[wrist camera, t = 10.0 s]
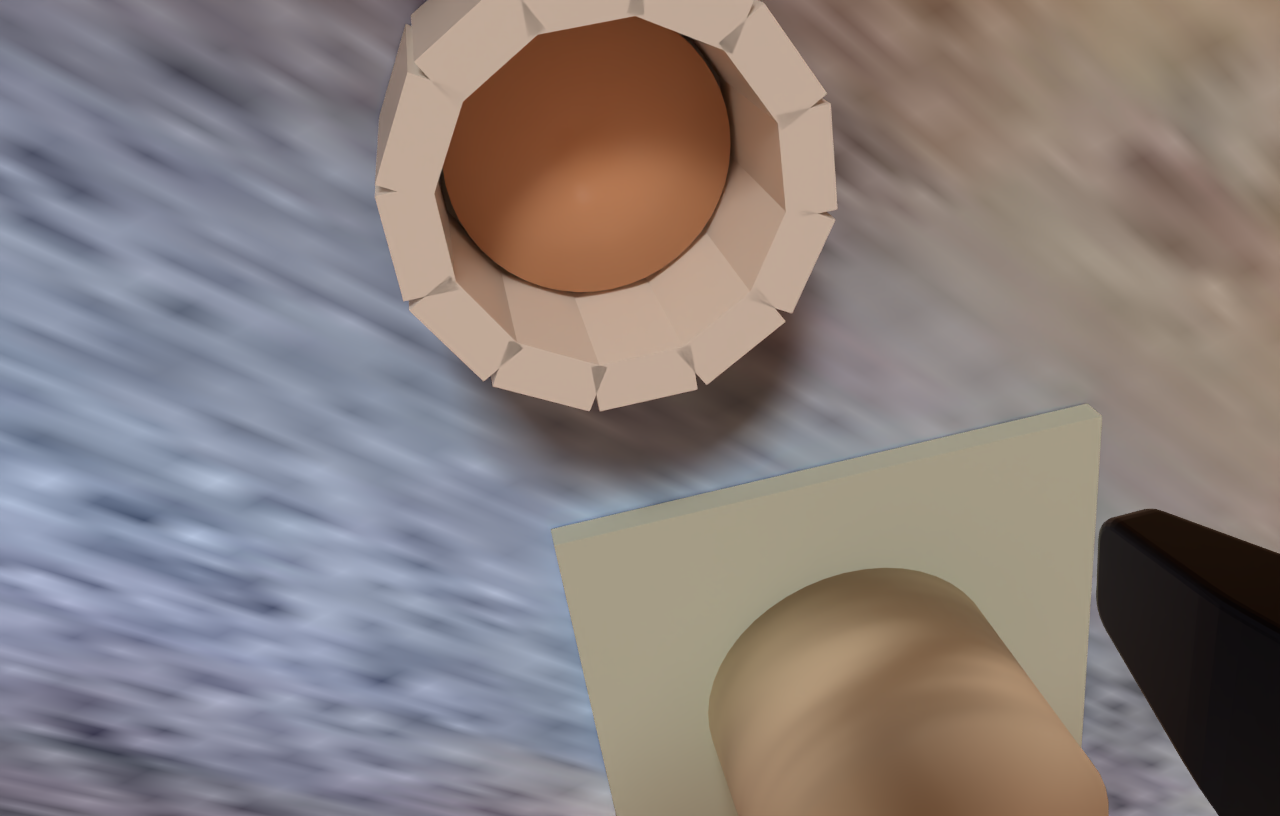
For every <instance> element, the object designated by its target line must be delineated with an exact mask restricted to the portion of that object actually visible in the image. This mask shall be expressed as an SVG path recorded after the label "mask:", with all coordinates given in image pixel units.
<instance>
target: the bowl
mask: <svg viewBox="0 0 1280 816" xmlns="http://www.w3.org/2000/svg"><path fill="white" fill-rule="evenodd" d="M411 25H412V26H410V25H407V24H406V25H405V28H404V32H403V35H402V39H401V42H400V46H399V49H398V53H397V56H396V60H395V63H394V67H393V70H392V74H391V77H390V81H389V84H388V88H387V91H386V95H385V98H384V102H383V105H382V109H381V113H380V116H379V128H378V143H377V159H376V175H375V199H376V203H377V206H378V210H379V213H380V217H381V221H382V224H383V228H384V232H385V235H386V239H387V242H388V246H389V250H390V253H391V257H392V261H393V264H394V268H395V272H396V275H397V279H398V282H399V286H400V290H401V293H402V297H403V301H408V300H409V311H410V312H411V313H412V314H413V315H415V316H416V317H417V318H418V319H419V320H420V321H421V322H422V323H423V324H424V325H425V326H426V327H427V328H428V329H429V330H430V331H431V332H432V333H433V334H434V335H436V336H437V337H438V338H439V339H440V340H441V341H442V342H443V343H444V344H445V345H446V346H447V347H448V348H449V349H450V350H451V351H452V352H453V353H454V354H455V355H456V356H458V357H459V358H460V359H461V360H462V361H463V362H464V363H465V364H466V365H467V366H468V367H469V368H470V369H471V370H472V371H473V372H474V373H475V374H476V375H477V376H478V377H480V378H481V379H482V380H483V381H485V380H486V379H487V378H488V377H490V376H491V380H492V386H493V387H497V388H501V389H505V390H509V391H513V392H516V393H520V394H524V395H528V396H532V397H536V398H540V399H544V400H547V401H551V402H555V403H559V404H563V405H567V406H571V407H575V408H578V409H582V410H586V411H590V409H591V407H592V404H593V402H594V399H596V402H597V405H598V408H599V411H604V410H609V409H613V408H618V407H622V406H627V405H631V404H635V403H640V402H644V401H649V400H653V399H658V398H662V397H667V396H671V395H675V394H680V393H684V392H689V391H693V390H697V383H696V375H695V373H696V374H697V375H698V376H699V377H700V378H701V379H702V380H703V382H704V383H705V384H706V385H707V384H709V383H710V382H711V381H712V380H714V379H715V378H716V377H717V376H719V375H720V374H721V373H722V372H724V371H725V370H726V369H727V368H729V367H730V366H731V365H732V364H734V363H735V362H736V361H737V360H739V359H740V358H741V357H742V356H744V355H745V354H746V353H747V352H748V351H750V350H751V349H752V348H753V347H755V346H756V345H757V344H758V343H760V342H761V341H762V340H763V339H765V338H766V337H767V336H768V335H770V334H771V333H772V332H773V331H775V330H776V329H777V328H778V327H780V326H781V325H782V324H783V323H785V322H786V321H785V320H784V319H783V317H782V316H781V315H780V313H779V312H778V311H777V310H776V309H779V310H783V311H786V312H789V313H793V311H794V308H795V306H796V304H797V302H798V300H799V298H800V295H801V293H802V291H803V289H804V287H805V285H806V282H807V280H808V278H809V276H810V274H811V272H812V269H813V267H814V265H815V263H816V261H817V259H818V256H819V254H820V252H821V250H822V248H823V246H824V243H825V241H826V239H827V237H828V235H829V233H830V230H831V228H832V226H833V224H834V222H835V219H834V218H833V217H832V216H831V215H830V214H829V213H827V211H832V210H837V195H836V179H835V164H834V148H833V133H832V117H831V104H830V103H828V102H827V101H825V100H824V99H822V97H824V96H825V95H826V94H827V93H826V91H825V90H824V88H823V87H822V86H821V84H820V83H819V81H818V80H817V78H816V77H815V75H814V74H813V73H812V71H811V70H810V68H809V67H808V65H807V64H806V63H805V61H804V60H803V58H802V57H801V55H800V54H799V52H798V51H797V50H796V48H795V47H794V45H793V44H792V42H791V41H790V40H789V38H788V37H787V35H786V34H785V32H784V31H783V29H782V28H781V27H780V25H779V24H778V22H777V21H776V19H775V18H774V17H773V15H772V14H771V12H770V11H769V9H768V8H767V6H766V5H765V4H764V3H762V2H760V1H758V0H427V1H426V2H425V3H424V4H423V5H422V6H421V7H419V8H418V9H417V10H416V11H415V12H414V13H413V14H412V15H411Z"/></svg>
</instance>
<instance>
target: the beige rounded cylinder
mask: <svg viewBox="0 0 1280 816" xmlns="http://www.w3.org/2000/svg"><path fill="white" fill-rule="evenodd" d="M708 717H709V728H710V732H711V736H712V740H713V743H714V746H715V749H716V752H717V755H718V758H719V761H720V764H721V766H722V769H723V772H724V775H725V778H726V781H727V784H728V787H729V790H730V793H731V796H732V799H733V802H734V805H735V808H736V810H737V813H738V816H1108V798H1107V793H1106V788H1105V785H1104V783H1103V781H1102V778H1101V776H1100V774H1099V772H1098V771H1097V769H1096V768H1095V766H1094V765H1093V764H1092V762H1091V761H1090V759H1089V758H1088V757H1087V755H1086V754H1085V753H1084V751H1083V750H1082V749H1081V747H1080V746H1079V744H1078V743H1077V742H1076V740H1075V739H1074V738H1073V736H1072V735H1071V734H1070V732H1069V731H1068V729H1067V728H1066V727H1065V725H1064V724H1063V723H1062V721H1061V720H1060V719H1059V717H1058V716H1057V714H1056V713H1055V712H1054V710H1053V709H1052V708H1051V706H1050V705H1049V704H1048V702H1047V701H1046V700H1045V698H1044V697H1043V695H1042V694H1041V693H1040V691H1039V690H1038V689H1037V687H1036V686H1035V685H1034V683H1033V682H1032V680H1031V679H1030V678H1029V676H1028V675H1027V674H1026V672H1025V671H1024V670H1023V668H1022V667H1021V665H1020V664H1019V663H1018V661H1017V660H1016V659H1015V657H1014V656H1013V655H1012V653H1011V652H1010V651H1009V649H1008V648H1007V646H1006V645H1005V644H1004V642H1003V641H1002V640H1001V638H1000V637H999V636H998V634H997V633H996V631H995V630H994V629H993V627H992V626H991V625H990V623H989V622H988V621H987V619H986V618H985V616H984V615H983V614H982V612H981V611H980V610H979V608H978V607H977V606H976V604H975V603H974V602H973V601H972V600H971V599H970V598H969V597H968V596H967V595H966V594H965V593H964V592H963V591H961V590H960V589H959V588H957V587H956V586H954V585H953V584H951V583H949V582H947V581H945V580H943V579H941V578H939V577H937V576H934V575H930V574H927V573H924V572H921V571H915V570H909V569H903V568H873V569H863V570H857V571H852V572H847V573H842V574H839V575H836V576H832V577H829V578H826V579H823V580H821V581H818V582H816V583H813V584H811V585H808V586H806V587H804V588H802V589H800V590H798V591H797V592H795V593H793V594H791V595H789V596H787V597H786V598H784V599H783V600H781V601H780V602H778V603H777V604H775V605H774V606H772V607H771V608H769V609H768V610H767V611H766V612H765V613H763V614H762V615H761V616H760V617H759V618H757V619H756V620H755V621H754V622H753V623H752V624H751V625H750V626H749V627H748V628H747V629H746V630H745V631H744V632H743V633H742V634H741V636H740V637H739V638H738V639H737V641H736V642H735V643H734V645H733V646H732V647H731V649H730V650H729V652H728V653H727V655H726V657H725V658H724V660H723V662H722V664H721V665H720V667H719V670H718V672H717V675H716V677H715V679H714V682H713V686H712V690H711V694H710V698H709V709H708Z"/></svg>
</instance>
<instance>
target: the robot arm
mask: <svg viewBox="0 0 1280 816" xmlns="http://www.w3.org/2000/svg"><path fill="white" fill-rule="evenodd" d="M1096 600H1097V607H1098V612H1099V615H1100V618H1101V621H1102V623H1103V626H1104V627H1105V629H1106V631H1107V633H1108V635H1109V636H1110V638H1111V640H1112V641H1113V643H1114V645H1115V647H1116V648H1117V650H1118V652H1119V653H1120V655H1121V657H1122V659H1123V660H1124V662H1125V664H1126V665H1127V667H1128V669H1129V670H1130V672H1131V674H1132V676H1133V677H1134V679H1135V681H1136V682H1137V684H1138V686H1139V688H1140V689H1141V691H1142V693H1143V694H1144V696H1145V698H1146V699H1147V701H1148V703H1149V705H1150V706H1151V708H1152V710H1153V711H1154V713H1155V715H1156V717H1157V718H1158V720H1159V722H1160V723H1161V725H1162V727H1163V728H1164V730H1165V732H1166V734H1167V735H1168V737H1169V739H1170V740H1171V742H1172V744H1173V746H1174V747H1175V749H1176V751H1177V752H1178V754H1179V756H1180V758H1181V759H1182V761H1183V763H1184V764H1185V766H1186V767H1187V769H1188V771H1189V772H1190V774H1191V775H1192V777H1193V779H1194V780H1195V782H1196V783H1197V785H1198V787H1199V788H1200V790H1201V791H1202V792H1203V794H1204V795H1205V797H1206V798H1207V800H1208V801H1209V802H1210V804H1211V805H1212V807H1213V808H1214V809H1215V811H1216V812H1217V814H1218V815H1219V816H1280V554H1279V553H1276V552H1273V551H1271V550H1268V549H1265V548H1262V547H1260V546H1257V545H1254V544H1251V543H1249V542H1246V541H1243V540H1241V539H1238V538H1235V537H1232V536H1230V535H1227V534H1224V533H1221V532H1219V531H1216V530H1213V529H1210V528H1208V527H1205V526H1202V525H1199V524H1197V523H1194V522H1191V521H1189V520H1186V519H1183V518H1180V517H1178V516H1175V515H1172V514H1169V513H1167V512H1164V511H1161V510H1157V509H1144V510H1140V511H1136V512H1132V513H1128V514H1125V515H1121V516H1117V517H1113V518H1110V519H1108V520H1107V521H1106V522H1104V523H1103V525H1102V527H1101V529H1100V532H1099V538H1098V564H1097V589H1096Z"/></svg>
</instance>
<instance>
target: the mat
mask: <svg viewBox="0 0 1280 816" xmlns="http://www.w3.org/2000/svg"><path fill="white" fill-rule="evenodd" d="M1101 428H1102V416H1101V415H1100V414H1099V413H1098V412H1097V411H1095V410H1094V409H1093V408H1092V407H1091V406H1089V405H1088V404H1083V405H1079V406H1075V407H1071V408H1066V409H1062V410H1058V411H1053V412H1049V413H1045V414H1041V415H1036V416H1032V417H1028V418H1024V419H1019V420H1015V421H1011V422H1007V423H1002V424H998V425H994V426H989V427H985V428H981V429H977V430H972V431H968V432H964V433H960V434H955V435H951V436H947V437H943V438H938V439H934V440H930V441H925V442H921V443H917V444H913V445H908V446H904V447H900V448H896V449H891V450H887V451H883V452H879V453H874V454H870V455H866V456H861V457H857V458H853V459H849V460H844V461H840V462H836V463H832V464H827V465H823V466H819V467H815V468H810V469H806V470H802V471H798V472H793V473H789V474H785V475H780V476H776V477H772V478H768V479H763V480H759V481H755V482H751V483H746V484H742V485H738V486H734V487H729V488H725V489H721V490H716V491H712V492H708V493H704V494H699V495H695V496H691V497H687V498H682V499H678V500H674V501H670V502H665V503H661V504H657V505H652V506H648V507H644V508H640V509H635V510H631V511H627V512H623V513H618V514H614V515H610V516H606V517H601V518H597V519H593V520H589V521H584V522H580V523H576V524H571V525H567V526H563V527H559V528H554V529H551V533H552V537H553V542H554V547H555V551H556V555H557V560H558V564H559V568H560V573H561V577H562V581H563V586H564V590H565V594H566V599H567V603H568V607H569V612H570V616H571V620H572V625H573V629H574V633H575V638H576V642H577V647H578V651H579V655H580V660H581V664H582V668H583V673H584V677H585V681H586V686H587V690H588V694H589V699H590V703H591V707H592V712H593V716H594V720H595V725H596V729H597V733H598V738H599V742H600V746H601V751H602V755H603V760H604V764H605V768H606V773H607V777H608V781H609V786H610V790H611V794H612V799H613V803H614V807H615V812H616V816H738V813H737V810H736V808H735V805H734V802H733V799H732V796H731V793H730V790H729V787H728V784H727V781H726V778H725V775H724V772H723V769H722V766H721V764H720V761H719V758H718V755H717V752H716V749H715V746H714V743H713V740H712V736H711V732H710V728H709V717H708V709H709V698H710V694H711V690H712V686H713V682H714V679H715V677H716V675H717V672H718V670H719V667H720V665H721V664H722V662H723V660H724V658H725V657H726V655H727V653H728V652H729V650H730V649H731V647H732V646H733V645H734V643H735V642H736V641H737V639H738V638H739V637H740V636H741V634H742V633H743V632H744V631H745V630H746V629H747V628H748V627H749V626H750V625H751V624H752V623H753V622H754V621H755V620H756V619H757V618H759V617H760V616H761V615H762V614H763V613H765V612H766V611H767V610H768V609H769V608H771V607H772V606H774V605H775V604H777V603H778V602H780V601H781V600H783V599H784V598H786V597H787V596H789V595H791V594H793V593H795V592H797V591H798V590H800V589H802V588H804V587H806V586H808V585H811V584H813V583H816V582H818V581H821V580H823V579H826V578H829V577H832V576H836V575H839V574H842V573H847V572H852V571H857V570H863V569H873V568H903V569H909V570H915V571H921V572H924V573H927V574H930V575H934V576H937V577H939V578H941V579H943V580H945V581H947V582H949V583H951V584H953V585H954V586H956V587H957V588H959V589H960V590H961V591H963V592H964V593H965V594H966V595H967V596H968V597H969V598H970V599H971V600H972V601H973V602H974V603H975V604H976V606H977V607H978V608H979V610H980V611H981V612H982V614H983V615H984V616H985V618H986V619H987V621H988V622H989V623H990V625H991V626H992V627H993V629H994V630H995V631H996V633H997V634H998V636H999V637H1000V638H1001V640H1002V641H1003V642H1004V644H1005V645H1006V646H1007V648H1008V649H1009V651H1010V652H1011V653H1012V655H1013V656H1014V657H1015V659H1016V660H1017V661H1018V663H1019V664H1020V665H1021V667H1022V668H1023V670H1024V671H1025V672H1026V674H1027V675H1028V676H1029V678H1030V679H1031V680H1032V682H1033V683H1034V685H1035V686H1036V687H1037V689H1038V690H1039V691H1040V693H1041V694H1042V695H1043V697H1044V698H1045V700H1046V701H1047V702H1048V704H1049V705H1050V706H1051V708H1052V709H1053V710H1054V712H1055V713H1056V714H1057V716H1058V717H1059V719H1060V720H1061V721H1062V723H1063V724H1064V725H1065V727H1066V728H1067V729H1068V731H1069V732H1070V734H1071V735H1072V736H1073V738H1074V739H1075V740H1076V742H1077V743H1078V744H1079V746H1080V747H1081V744H1082V728H1083V712H1084V697H1085V681H1086V665H1087V649H1088V633H1089V618H1090V602H1091V586H1092V570H1093V554H1094V538H1095V523H1096V507H1097V491H1098V475H1099V459H1100V443H1101Z"/></svg>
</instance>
